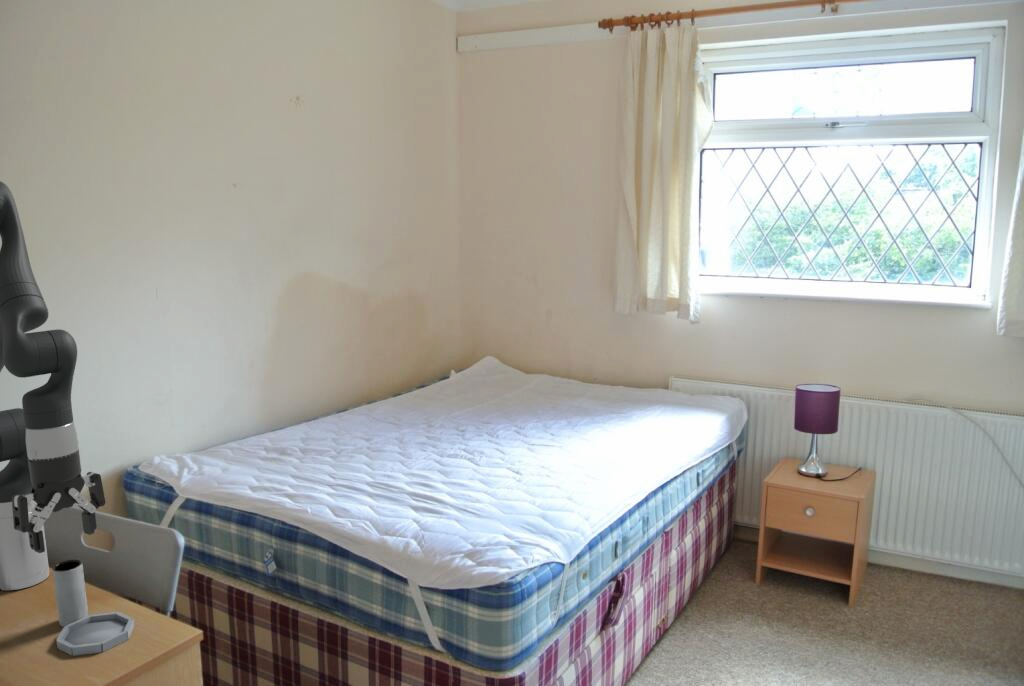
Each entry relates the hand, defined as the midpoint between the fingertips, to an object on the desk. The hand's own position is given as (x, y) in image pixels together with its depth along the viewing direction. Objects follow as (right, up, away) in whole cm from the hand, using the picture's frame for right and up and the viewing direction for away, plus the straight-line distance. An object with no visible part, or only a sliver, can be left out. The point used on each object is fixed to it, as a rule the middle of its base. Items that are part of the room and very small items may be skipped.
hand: (64, 542), depth 141 cm
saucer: (+7, -15, -3) cm, 17 cm away
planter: (0, -14, +3) cm, 15 cm away
